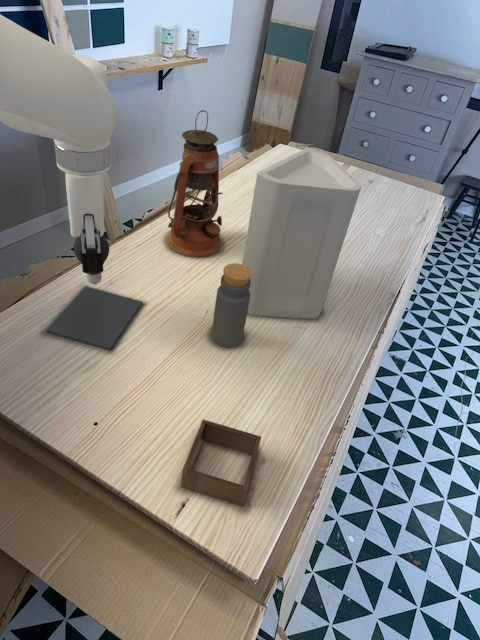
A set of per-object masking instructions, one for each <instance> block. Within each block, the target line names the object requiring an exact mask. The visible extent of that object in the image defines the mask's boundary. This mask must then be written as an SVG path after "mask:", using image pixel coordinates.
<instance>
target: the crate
mask: <svg viewBox="0 0 480 640" xmlns="http://www.w3.org/2000/svg"><path fill="white" fill-rule="evenodd" d="M261 440H262V436H261V435H257V434H254V433H251V432H247V431H244V430H241V429H237V428H234V427H230V426H228V425H224V424H220V423H217V422H213V421H210V420H206V419H202V420H201V423H200V425H199V427H198V430H197V432H196V435H195V438H194V440H193V442H192V446H191V448H190V450H189V452H188V455H187V457H186V461H185V464H184V466H183V468H182V470H181V479H180V480H181V481H180V482H181V483H180V487H181V488H184V489H186V490H190V491H193V492H196V493H200V494H202V495H206V496H209V497H212V498H216V499H220V500H222V501H225V502H229V503H232V504H235V505H238V506H240V507H244V504H245V501H246V500H245V499H246V497H247V493H248V490H249V485H250V482H251V478H252V475H253V471H254V466H255V463H256V460H257V459H256V458H257V454H258V451H259V447H260V444H261ZM203 441H206V442H209V443H213V444H217V445H219V446H223V447H226V448H229V449H232V450H236V451H240V452H242V453H243V452H244V453H246V454H249V455H251V457H250V461H249V465H248V469H247V472H246V476H245V480H244V484H240V483H236V482H233V481H230V480H227V479H224V478H220V477H217V476H214V475H210V474H208V473H205V472H200V471H198V470H194V469H193V467H194V465H195V463H196V460H197V457H198V455H199V452H200V449H201V446H202V444H203Z"/></svg>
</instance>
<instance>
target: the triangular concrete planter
mask: <svg viewBox="0 0 480 640" xmlns="http://www.w3.org/2000/svg"><path fill="white" fill-rule="evenodd" d="M362 188H363V187H362V184H361V183H360V182H359V181H358V180H357V179H356V178H355V177H353V175H351V173H349V172H348V171H347V170H346V169H345V168H344V167H343V166H342V165H340V164H339V163H338V161H336V160H335V159H334V158H333V157H332V156H331V155H329V154H327V153H326V152H323V151H320V150H317V149H314V148H310V147H306V148H304V149H302V150H300V151H297V152H295V153H294V154H292V155H290V156H287V157H286V158H283V159H281V160H280V161H278V162H276V163H273V164H272V165H269V166H267V167H266V168H263V169H261V170H260V171H257V173H256V178H255V185H254V190H253V196H252V202H251V208H250V214H249V218H248V219H249V220H248V226H247V232H246V238H245V242H244V243H245V244H244V249H243V255H242V263H241V264H242V265H244V266H246V267H248V268H249V269H250V271H251V276H250V278H249V279H250V281H251V284H250V288H249V291H250V301H249V307H248V312H247V314H249V315H251V316H255V317H256V316H260V317H273V318H274V317H275V318H294V319H309V320H311V319H312V320H315V319H316V318H318V317H319V316H320V315H321V313H322V310H323V307H324V304H325V301H326V298H327V294H328V291H329V289H330V288H329V287H330V285H331V283H332V279H333V276H334V273H335V270H336V267H337V263H338V260H339V258H340V254H341V252H342V248H343V246H344V243H345V239H346V235H347V234H348V231H349V230H348V229H349V227H350V223H351V220H352V217H353V214H354V212H355V209H356V205H357V202H358V199H359V196H360V193H361V191H362V190H361V189H362Z"/></svg>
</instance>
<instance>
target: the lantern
mask: <svg viewBox="0 0 480 640" xmlns="http://www.w3.org/2000/svg"><path fill="white" fill-rule="evenodd" d="M203 112H205V113H206V126H205V129H204V130H201V129H197V118H198V116H199V115H200V113H203ZM208 122H209V114H208V112H207V110H204V109H202V110H200V111H198V112H197V114H196V117H195V120H194V125H195V126H194V129H189V130H185V131H184V132H182V133H181V137H182V138H183V139H184V140H185V142H184V144H183V152H182V159H181V161H180V162H179V169H178V172H177V174H176V178H175V181H174V185H173V190H174V191H173V194H172V197H171V201H170V203H169V207H168V210H167V217H168V219H170V222H169V223H168V225H167V228H170V232H169V234H168V236H167V240H166V244H167V245H168V247H169V248H170V249H171V250H173V251H174V252H176V253H178V254H180V255H182V256H186V257H191V258H206V257H210V256H213V255H216V254H217V253H218V252H220V250H221V249H222V246H223V244H222V243H223V242H222V240H221V237H220V233H221V226H222V225H223V218H222V216H221V215H218V217H216V219H213V218H214V217H215V216H216V214H217V212H218V210H219V209H218V208H219V195H223V192H219V191H220V189H219V186H220V185H219V184H220V183H219V182H220V181H219V178H220V171H219V170H220V161H219V159H220V154H219V152H218V147H217V146H216V145H215V144H216V143H217V142H218V141H219V138H218V137H217V135H216V134H214V133H213V132H210V131H207V129H208V124H209V123H208ZM187 189H190V190H194V191H197V193H196V195H195V196H194V195H193V194H190V193H187V192H186V191H187ZM201 191H205V193H204V197H203V199H202V198H199V197H198V196H199V194H200V192H201ZM186 198H187V199H188V200H191V203H190V204H187V205H185V199H186ZM174 200H175V206H174V213H173V217H171V209H172V206H173V203H174ZM196 201H197V202H196ZM198 202H200V203H198ZM194 203H196V204H194ZM201 203H202V204H201Z"/></svg>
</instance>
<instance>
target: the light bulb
mask: <svg viewBox="0 0 480 640" xmlns="http://www.w3.org/2000/svg"><path fill="white" fill-rule="evenodd" d="M94 232H95V231H94ZM83 233H86V232H83ZM85 243H87V241H86V238H85ZM95 243H96V244H97V242H96V238H95ZM100 249H101V250H102V256H103V265H104V264H105V263H106V261H107V259H108V257H109V254H110V243H109V241H108V239H107V238H106V237H105V236H104V235H103V236H101V237H100ZM81 250H82V242H81V235H80V237H75V240H74V243H73V252H74V255H75V257H76V259H77V260H78V261H79V263H80V264H81V265H82V258H81ZM85 277H86V281H87V282H88V283H89V284H92V285H97V284H99V283H101V282H102V278H103V276H102V272H94V273H85Z"/></svg>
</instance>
